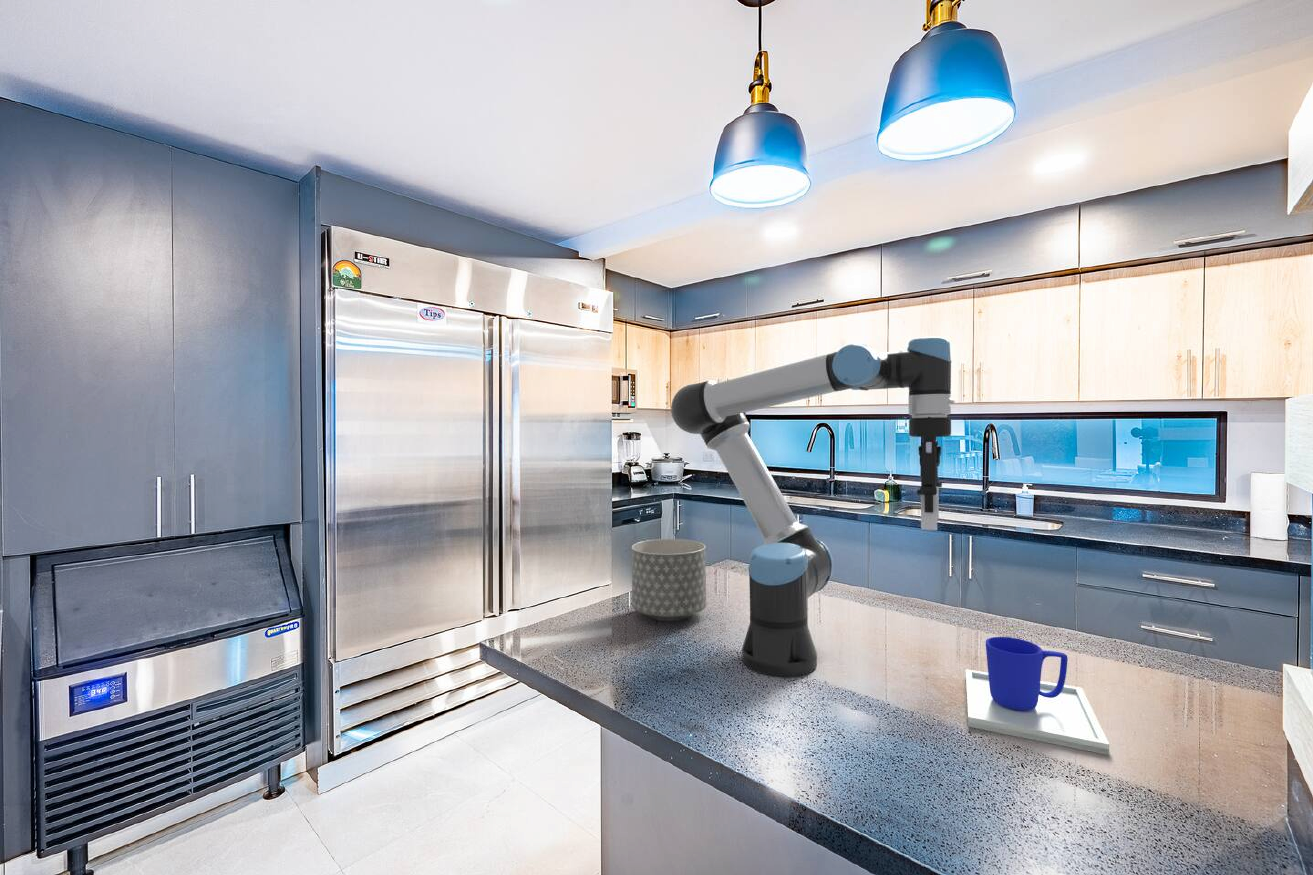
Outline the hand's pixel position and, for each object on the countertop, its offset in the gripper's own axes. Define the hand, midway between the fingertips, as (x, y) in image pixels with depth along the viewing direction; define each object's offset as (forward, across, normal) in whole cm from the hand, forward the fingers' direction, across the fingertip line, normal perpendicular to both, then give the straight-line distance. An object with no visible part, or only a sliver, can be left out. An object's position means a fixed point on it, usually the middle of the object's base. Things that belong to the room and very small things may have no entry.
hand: (930, 524), depth 113 cm
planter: (+29, +6, +61) cm, 68 cm away
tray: (+29, -12, -15) cm, 35 cm away
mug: (+28, -12, -15) cm, 34 cm away
